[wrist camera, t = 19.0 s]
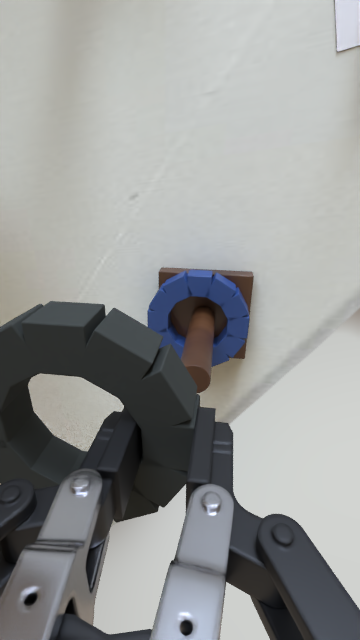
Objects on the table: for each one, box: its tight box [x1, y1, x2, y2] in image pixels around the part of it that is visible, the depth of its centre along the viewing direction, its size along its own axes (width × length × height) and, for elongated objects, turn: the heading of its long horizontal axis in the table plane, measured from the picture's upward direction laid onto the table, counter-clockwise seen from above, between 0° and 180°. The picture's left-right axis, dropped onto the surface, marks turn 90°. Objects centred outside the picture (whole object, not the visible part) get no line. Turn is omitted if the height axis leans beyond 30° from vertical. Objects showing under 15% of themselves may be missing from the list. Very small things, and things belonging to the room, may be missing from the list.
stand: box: [159, 268, 253, 393], centre depth 29 cm, size 9×9×12 cm
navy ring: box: [148, 270, 249, 367], centre depth 33 cm, size 10×10×2 cm
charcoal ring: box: [0, 301, 200, 522], centre depth 14 cm, size 10×10×2 cm
